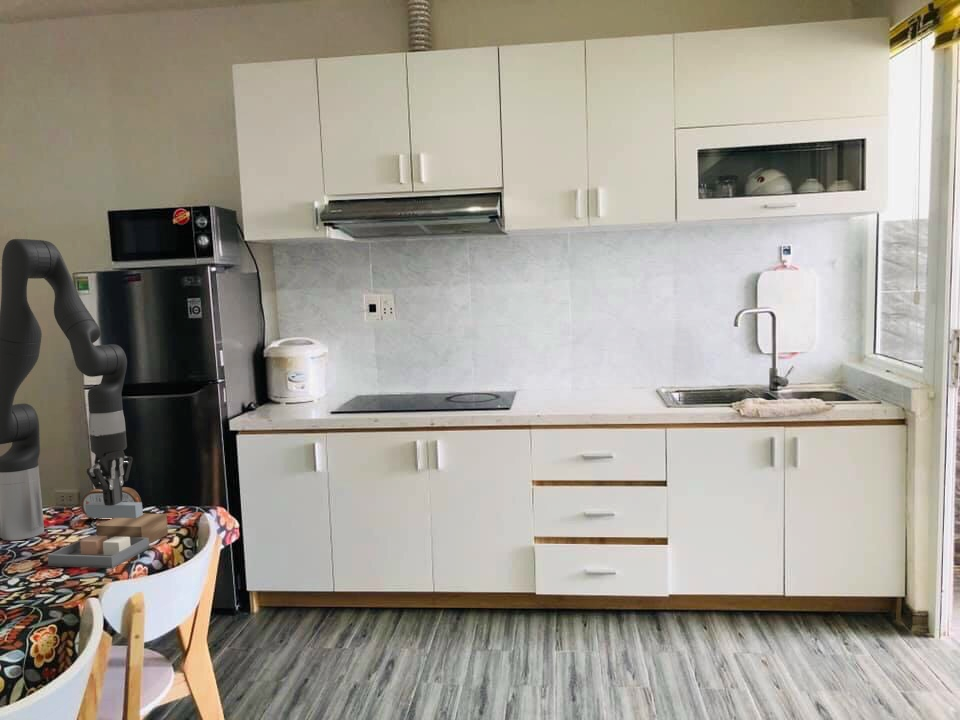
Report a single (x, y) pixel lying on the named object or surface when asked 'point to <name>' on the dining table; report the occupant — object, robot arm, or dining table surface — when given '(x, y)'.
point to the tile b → (115, 545)
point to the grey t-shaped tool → (114, 506)
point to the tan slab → (135, 527)
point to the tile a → (92, 544)
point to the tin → (97, 496)
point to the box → (96, 555)
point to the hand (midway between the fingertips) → (113, 503)
